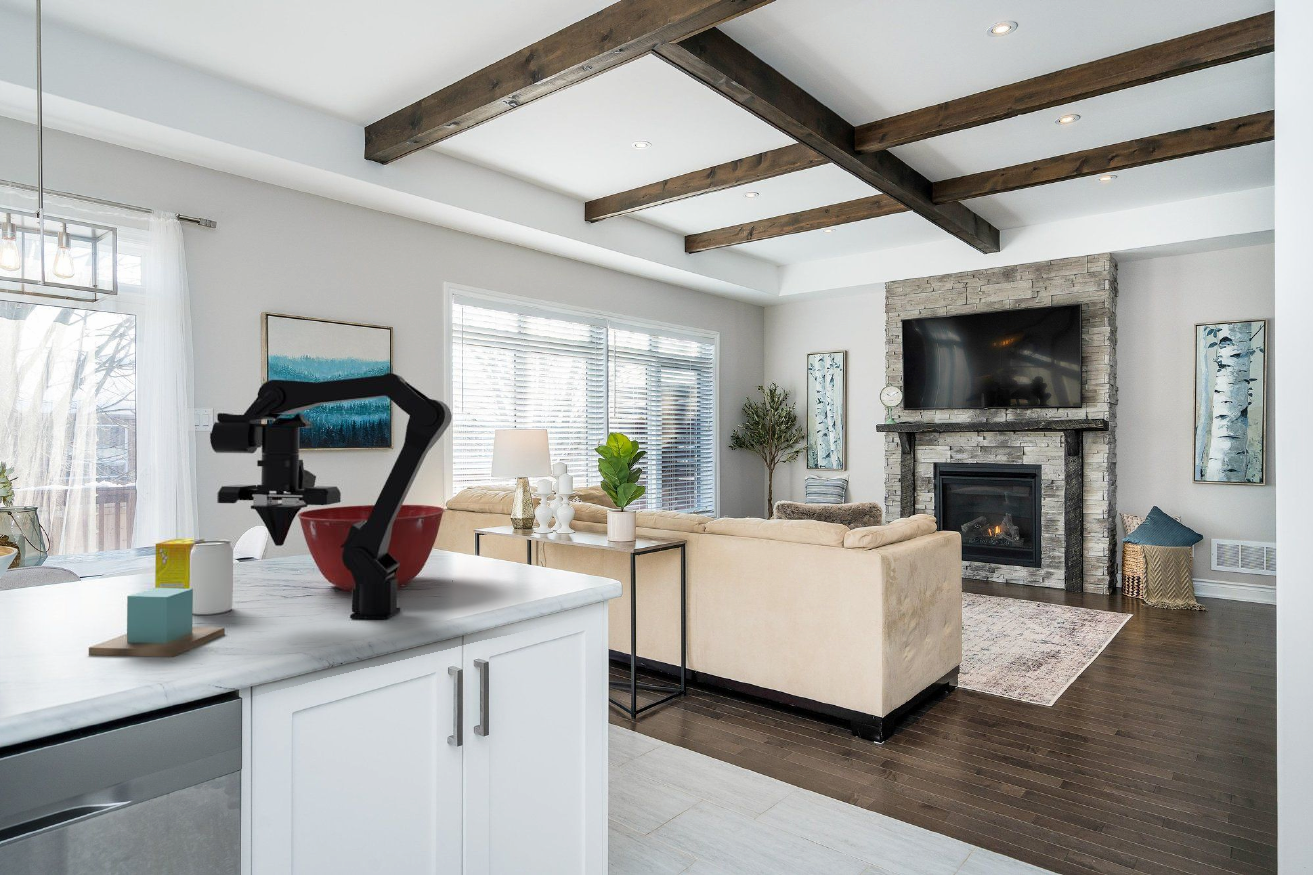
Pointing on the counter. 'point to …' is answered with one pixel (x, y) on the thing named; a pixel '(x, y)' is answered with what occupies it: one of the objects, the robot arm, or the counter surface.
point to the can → (211, 577)
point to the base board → (157, 644)
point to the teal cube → (159, 615)
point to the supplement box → (173, 563)
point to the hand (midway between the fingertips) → (279, 545)
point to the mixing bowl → (332, 525)
